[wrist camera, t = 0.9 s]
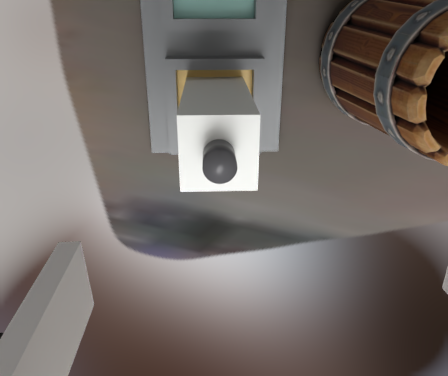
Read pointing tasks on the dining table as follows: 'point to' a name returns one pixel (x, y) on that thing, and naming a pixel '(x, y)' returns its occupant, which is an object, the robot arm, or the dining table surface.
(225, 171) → the plug
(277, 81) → the panel
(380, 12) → the mug
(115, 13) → the dining table surface
